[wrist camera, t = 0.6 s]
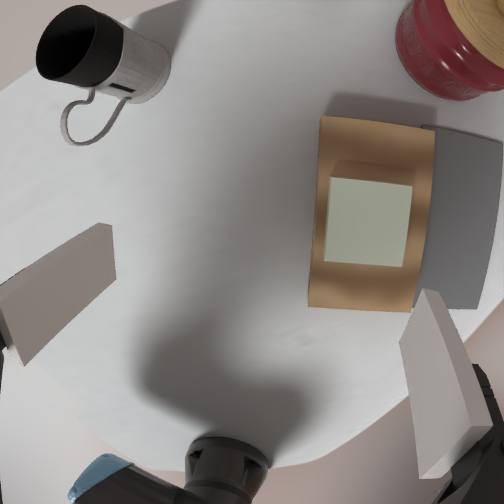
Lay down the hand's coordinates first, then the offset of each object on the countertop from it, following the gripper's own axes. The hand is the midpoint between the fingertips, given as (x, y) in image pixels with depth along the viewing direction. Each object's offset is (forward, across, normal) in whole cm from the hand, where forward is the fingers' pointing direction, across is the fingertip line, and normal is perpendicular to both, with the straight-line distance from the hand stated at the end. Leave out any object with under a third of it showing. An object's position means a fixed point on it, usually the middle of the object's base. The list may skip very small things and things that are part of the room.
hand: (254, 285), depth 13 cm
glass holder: (+25, +21, -8) cm, 34 cm away
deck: (+25, -8, +3) cm, 26 cm away
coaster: (+21, -7, +3) cm, 22 cm away
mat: (+26, -20, +2) cm, 32 cm away
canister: (+28, -15, -18) cm, 37 cm away
